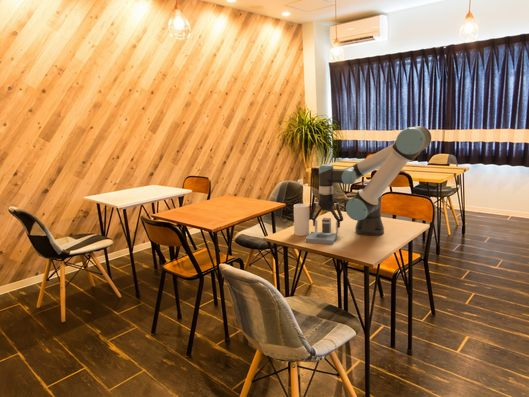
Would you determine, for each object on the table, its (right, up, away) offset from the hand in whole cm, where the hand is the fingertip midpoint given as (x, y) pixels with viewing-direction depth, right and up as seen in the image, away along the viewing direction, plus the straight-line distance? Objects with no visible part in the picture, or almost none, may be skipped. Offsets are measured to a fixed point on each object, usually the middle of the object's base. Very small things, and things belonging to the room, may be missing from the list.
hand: (326, 232), depth 215 cm
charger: (0, 0, 0) cm, 0 cm away
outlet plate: (-4, -3, -11) cm, 12 cm away
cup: (-13, -1, +1) cm, 14 cm away
